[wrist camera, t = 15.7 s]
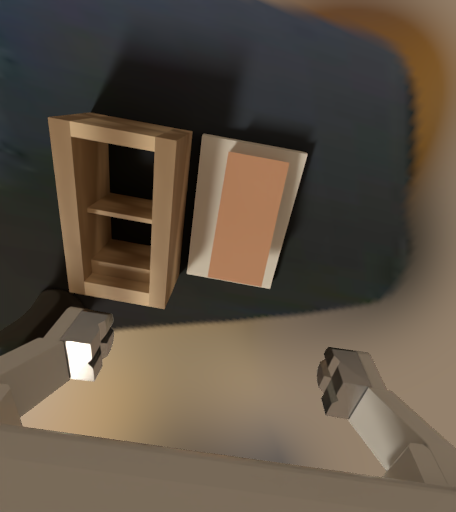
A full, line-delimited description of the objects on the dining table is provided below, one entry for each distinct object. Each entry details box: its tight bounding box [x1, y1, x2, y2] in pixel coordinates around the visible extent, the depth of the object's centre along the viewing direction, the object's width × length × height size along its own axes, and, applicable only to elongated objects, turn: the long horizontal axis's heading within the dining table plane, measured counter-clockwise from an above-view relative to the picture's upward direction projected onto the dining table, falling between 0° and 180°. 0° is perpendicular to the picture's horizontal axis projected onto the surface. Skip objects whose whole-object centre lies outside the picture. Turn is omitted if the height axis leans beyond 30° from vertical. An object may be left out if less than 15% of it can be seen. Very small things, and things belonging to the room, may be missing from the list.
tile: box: [208, 152, 289, 287], centre depth 27 cm, size 5×11×3 cm, turn 171°
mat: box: [187, 134, 308, 289], centre depth 29 cm, size 9×14×1 cm, turn 171°
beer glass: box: [0, 289, 85, 356], centre depth 30 cm, size 7×7×15 cm
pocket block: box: [48, 113, 193, 309], centre depth 27 cm, size 9×15×6 cm, turn 171°
